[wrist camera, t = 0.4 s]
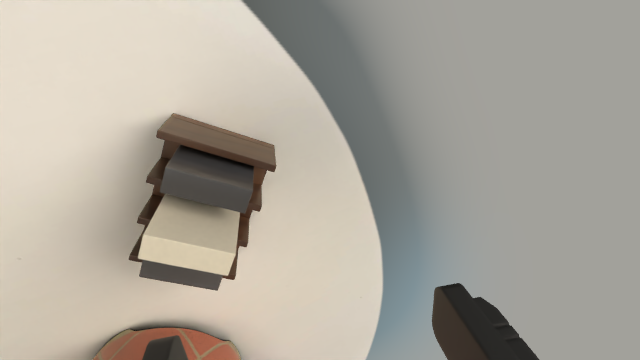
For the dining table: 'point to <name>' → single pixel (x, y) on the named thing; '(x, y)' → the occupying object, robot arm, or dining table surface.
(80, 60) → the dining table surface
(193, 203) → the white box
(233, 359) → the planter
